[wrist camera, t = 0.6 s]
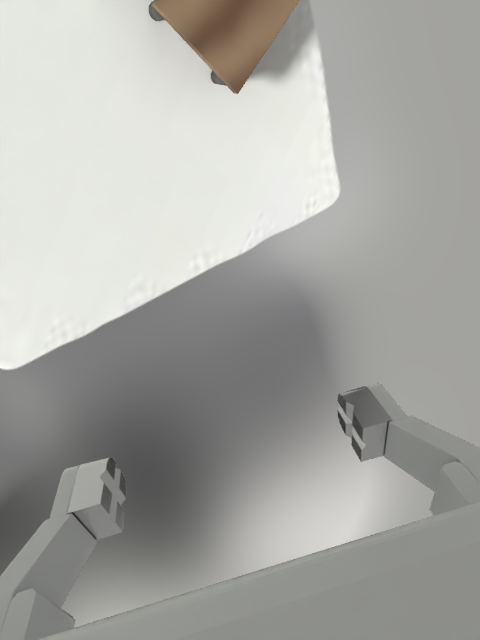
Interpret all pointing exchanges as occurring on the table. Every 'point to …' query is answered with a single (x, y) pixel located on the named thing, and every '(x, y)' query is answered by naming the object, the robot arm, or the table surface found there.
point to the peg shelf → (226, 32)
